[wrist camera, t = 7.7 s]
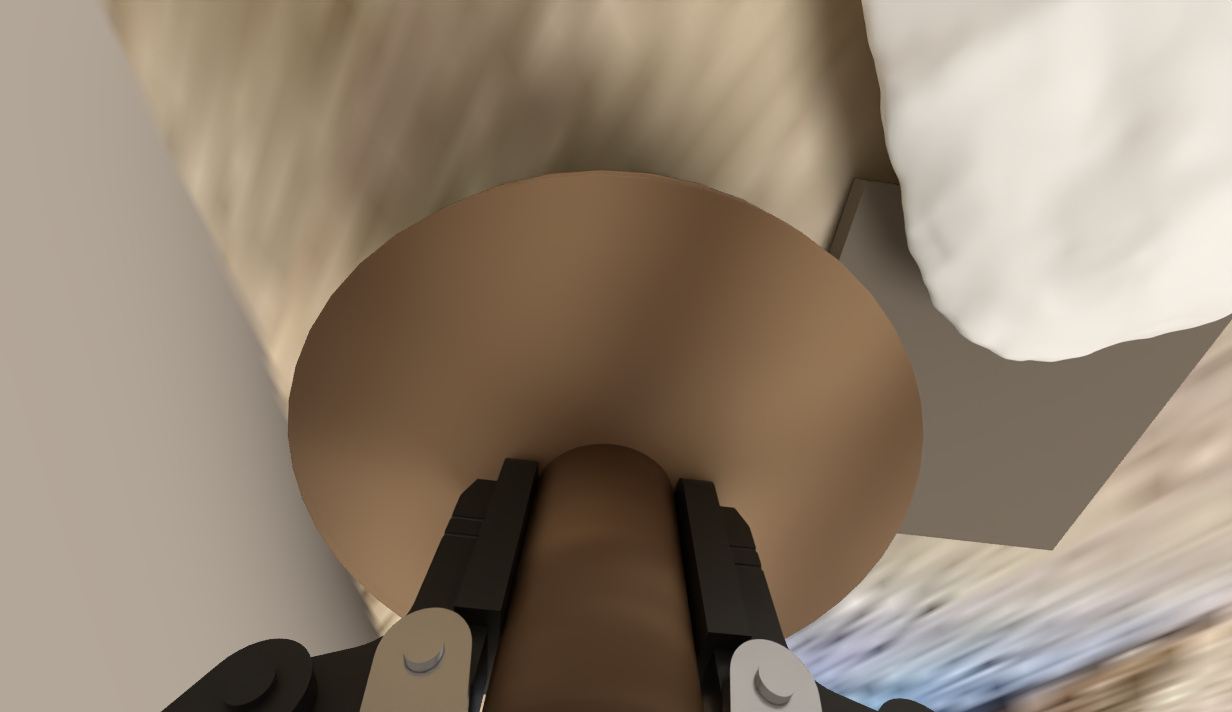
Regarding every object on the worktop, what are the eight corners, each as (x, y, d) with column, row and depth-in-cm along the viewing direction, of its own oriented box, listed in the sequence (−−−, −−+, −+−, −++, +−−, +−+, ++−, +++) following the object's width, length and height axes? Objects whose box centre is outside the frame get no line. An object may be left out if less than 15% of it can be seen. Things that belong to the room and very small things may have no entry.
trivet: (1258, 236, 18) (1290, 243, 17) (1037, 534, 25) (1052, 550, 24) (854, 178, 17) (866, 181, 16) (744, 502, 25) (749, 516, 24)
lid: (1014, 221, 9) (1603, 375, 4) (797, 664, 15) (893, 961, 10) (256, 120, 8) (-408, 118, 3) (353, 624, 15) (197, 918, 9)
